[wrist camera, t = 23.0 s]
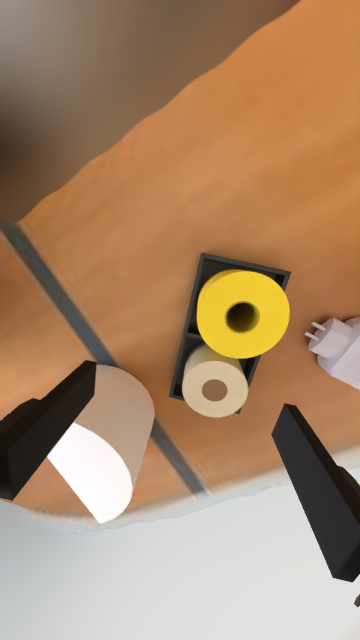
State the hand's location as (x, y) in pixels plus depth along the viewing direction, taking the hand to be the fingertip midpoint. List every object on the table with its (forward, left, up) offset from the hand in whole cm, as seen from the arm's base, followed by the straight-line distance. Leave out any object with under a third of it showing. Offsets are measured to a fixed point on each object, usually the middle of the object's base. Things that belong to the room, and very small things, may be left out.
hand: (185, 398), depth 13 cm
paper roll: (+5, -7, -20) cm, 22 cm away
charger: (+24, +1, -20) cm, 31 cm away
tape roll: (+5, +4, -20) cm, 21 cm away
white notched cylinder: (-13, -23, -20) cm, 33 cm away
